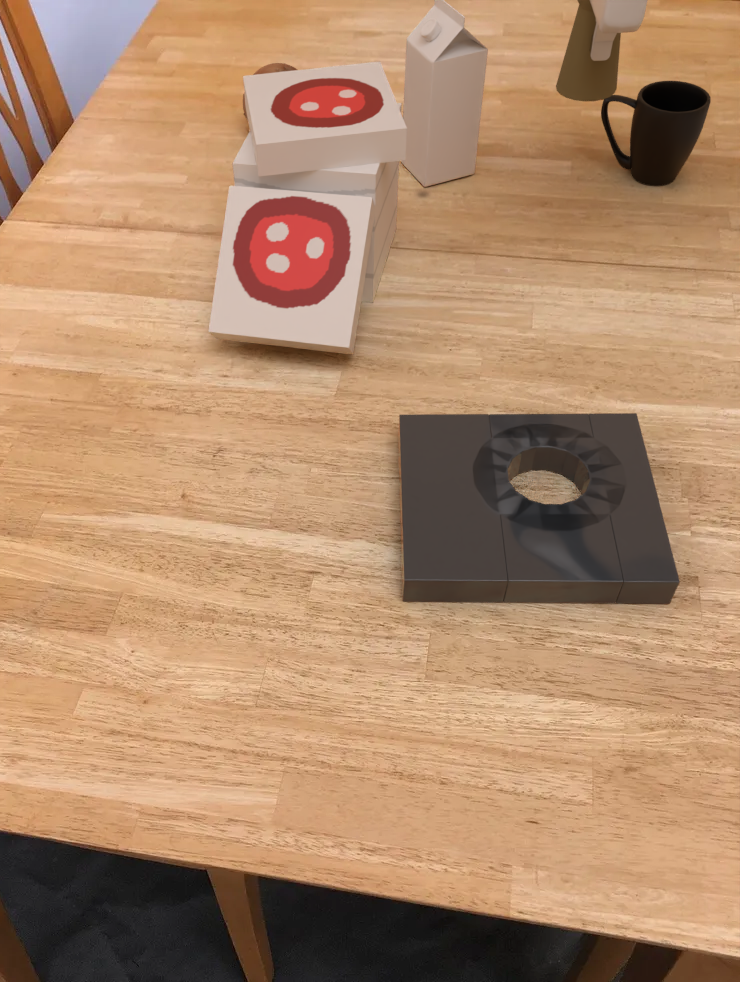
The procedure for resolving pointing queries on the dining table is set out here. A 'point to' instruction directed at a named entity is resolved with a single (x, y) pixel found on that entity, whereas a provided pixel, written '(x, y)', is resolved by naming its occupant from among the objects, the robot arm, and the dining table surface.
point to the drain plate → (530, 511)
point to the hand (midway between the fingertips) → (594, 44)
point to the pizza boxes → (309, 207)
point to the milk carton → (442, 96)
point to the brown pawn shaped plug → (587, 62)
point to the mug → (660, 129)
